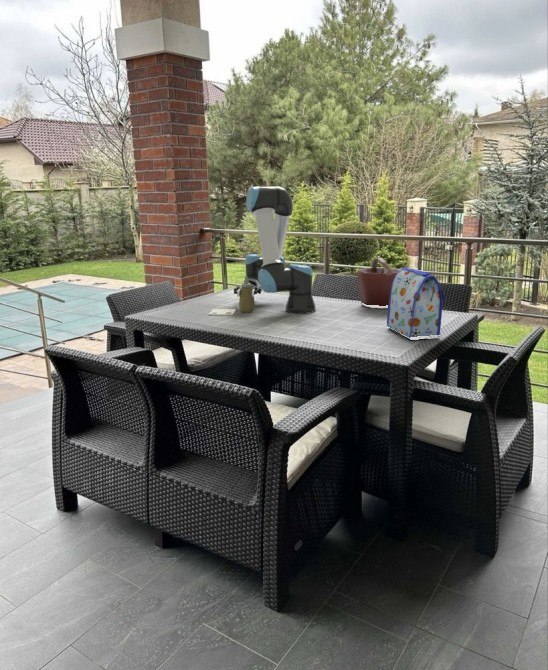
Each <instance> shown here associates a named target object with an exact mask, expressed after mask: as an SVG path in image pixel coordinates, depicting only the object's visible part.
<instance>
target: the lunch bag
mask: <svg viewBox="0 0 548 670" xmlns="http://www.w3.org/2000/svg"><path fill="white" fill-rule="evenodd" d="M399 269H400V270H399V272H398V274H397V275H396V276H395V277H394V280H393V283H392V287H391V291H390V299H389V305H388V309H387V318H386V327H387V326H388V327H390V328H392V329H394V330H396V331H397V332H399V333H401V334H403V335H405V336H407V337H409V338H410V337H417V336H430V335H440V334H441V326H442V316H443V301H446V300H447V296H446V295H445V293H444V291H443V289H442V286H441V284H440V282H439V280H438V279H437V278H436V277H435V276H434V275H432V274H431V273H430V272H425V271H423V270H418V269H415V268H408V267H402V268H399Z"/></svg>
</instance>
